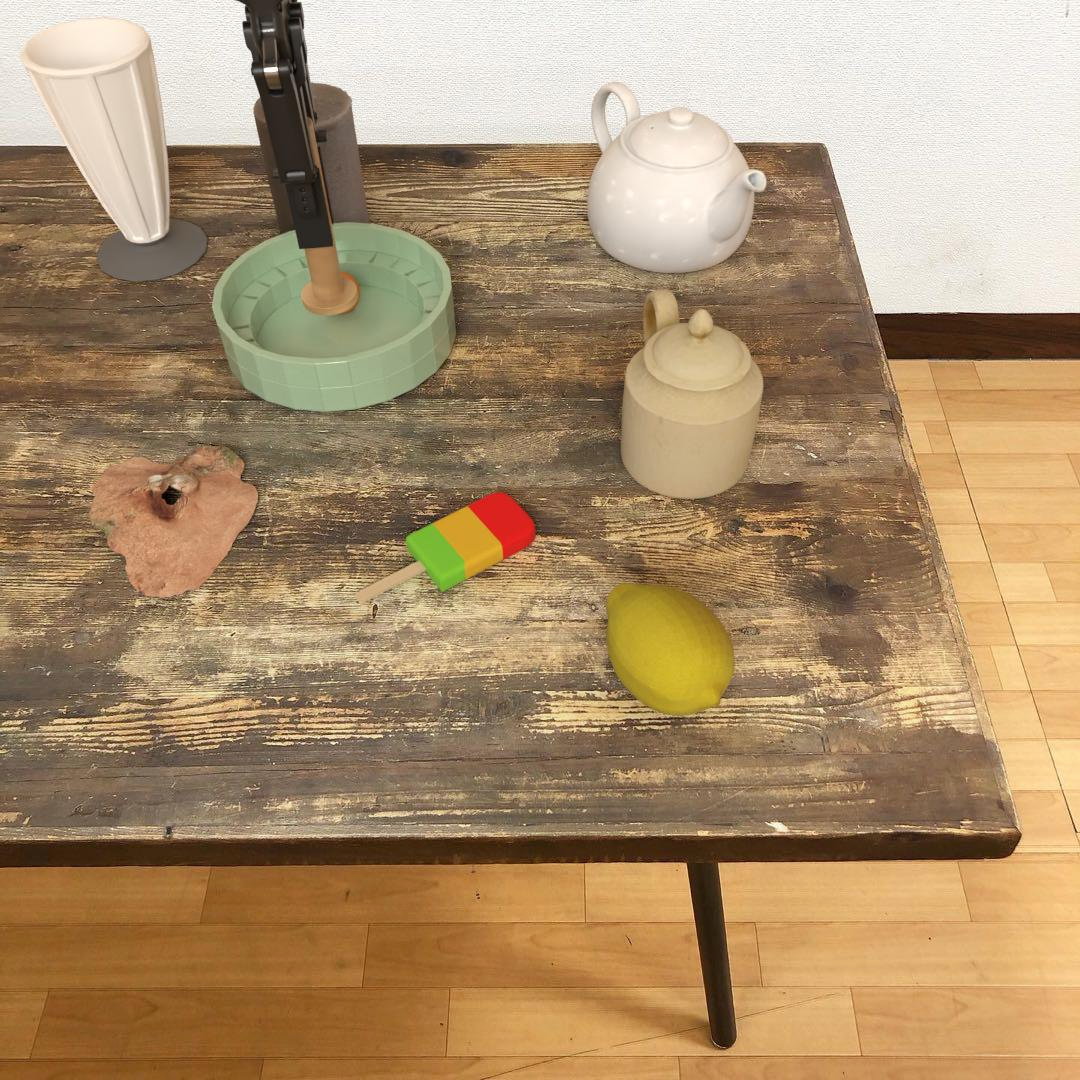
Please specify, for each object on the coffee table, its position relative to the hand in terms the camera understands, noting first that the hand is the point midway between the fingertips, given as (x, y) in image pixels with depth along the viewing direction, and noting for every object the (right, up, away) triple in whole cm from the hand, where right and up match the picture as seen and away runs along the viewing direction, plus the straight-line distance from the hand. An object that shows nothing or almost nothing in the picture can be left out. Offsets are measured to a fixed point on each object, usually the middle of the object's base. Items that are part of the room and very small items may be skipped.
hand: (316, 233), depth 88 cm
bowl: (-1, -6, +14) cm, 16 cm away
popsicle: (+11, -27, -4) cm, 29 cm away
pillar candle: (-5, +8, +28) cm, 29 cm away
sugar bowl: (+29, -17, +4) cm, 34 cm away
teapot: (+32, +7, +26) cm, 42 cm away
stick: (0, -4, +5) cm, 7 cm away
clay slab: (-11, -23, 0) cm, 26 cm away
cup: (-22, +5, +25) cm, 34 cm away
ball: (-1, -1, +15) cm, 15 cm away
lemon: (+27, -35, -12) cm, 46 cm away
